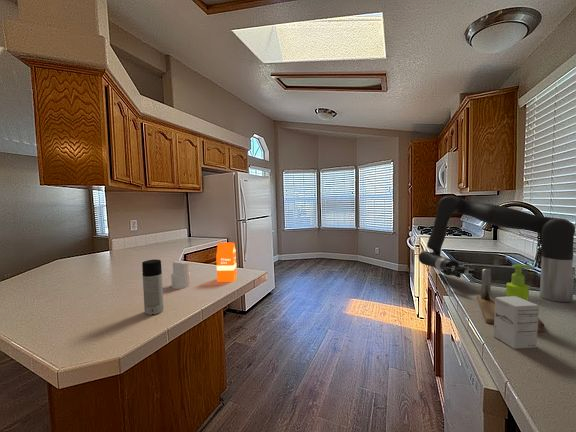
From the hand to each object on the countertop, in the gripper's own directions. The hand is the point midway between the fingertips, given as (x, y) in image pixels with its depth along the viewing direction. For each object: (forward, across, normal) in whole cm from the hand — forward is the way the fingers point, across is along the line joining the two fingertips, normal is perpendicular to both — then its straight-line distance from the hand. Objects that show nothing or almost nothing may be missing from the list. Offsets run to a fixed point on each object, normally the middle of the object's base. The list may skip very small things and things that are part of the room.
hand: (469, 275), depth 121 cm
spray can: (+10, -132, +9) cm, 132 cm away
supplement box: (+39, -13, +9) cm, 42 cm away
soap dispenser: (+27, -2, +9) cm, 29 cm away
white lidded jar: (-21, -132, +9) cm, 134 cm away
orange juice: (-30, -111, +9) cm, 115 cm away
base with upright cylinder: (+20, 0, +8) cm, 21 cm away
